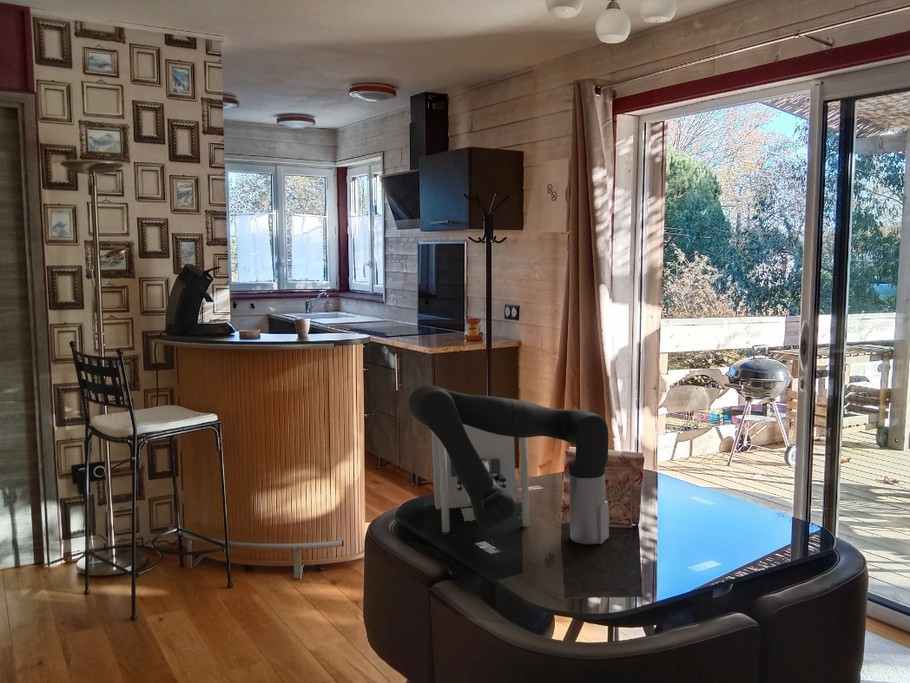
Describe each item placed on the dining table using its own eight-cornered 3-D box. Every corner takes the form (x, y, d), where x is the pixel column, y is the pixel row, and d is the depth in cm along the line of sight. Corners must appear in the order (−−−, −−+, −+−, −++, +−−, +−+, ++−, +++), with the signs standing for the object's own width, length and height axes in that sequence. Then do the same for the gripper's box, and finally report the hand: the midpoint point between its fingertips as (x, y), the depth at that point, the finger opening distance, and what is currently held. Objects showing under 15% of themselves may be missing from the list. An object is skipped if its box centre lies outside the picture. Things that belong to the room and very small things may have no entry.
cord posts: (530, 526, 213) (527, 433, 211) (442, 533, 211) (438, 438, 208) (529, 524, 215) (525, 431, 213) (442, 531, 213) (437, 437, 210)
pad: (500, 519, 221) (500, 517, 221) (464, 521, 220) (464, 519, 220) (494, 508, 231) (494, 506, 230) (461, 510, 230) (461, 508, 229)
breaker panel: (517, 505, 232) (514, 418, 229) (436, 511, 230) (432, 424, 227) (513, 498, 239) (510, 414, 236) (434, 503, 237) (431, 419, 234)
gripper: (511, 475, 210) (501, 460, 227) (457, 479, 209) (451, 463, 225) (512, 503, 211) (502, 486, 227) (458, 506, 209) (452, 489, 226)
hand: (477, 475), depth 226 cm, fingers closed on can, 6 cm apart
